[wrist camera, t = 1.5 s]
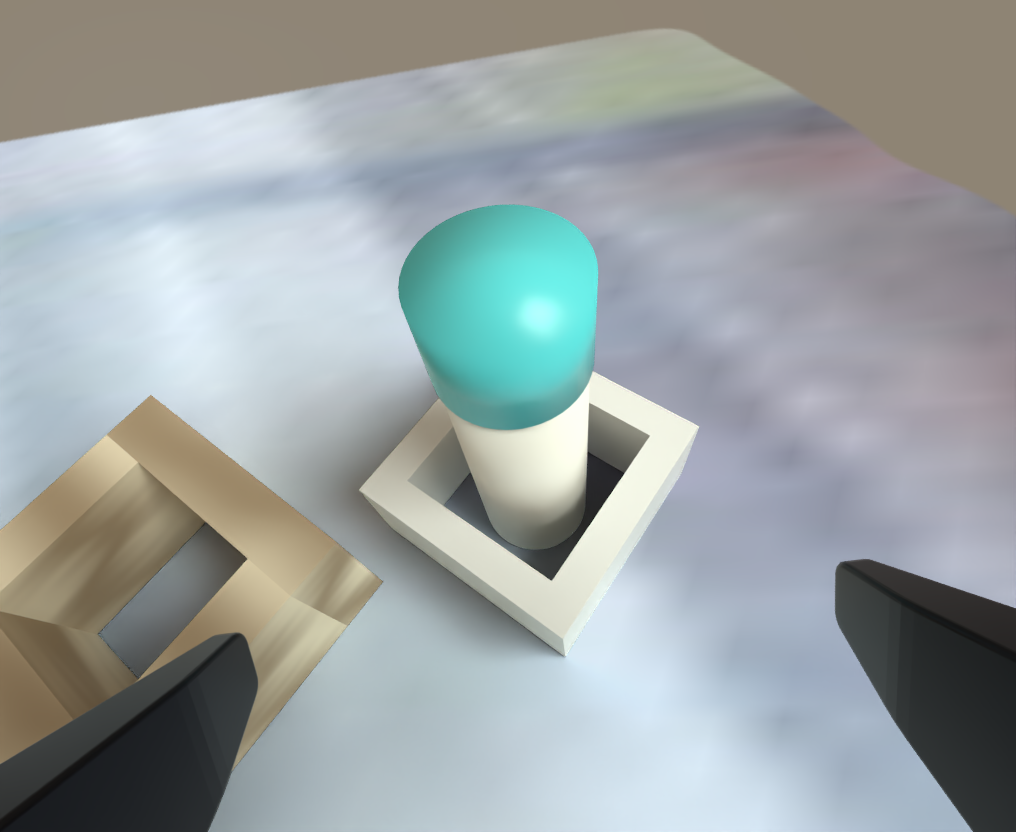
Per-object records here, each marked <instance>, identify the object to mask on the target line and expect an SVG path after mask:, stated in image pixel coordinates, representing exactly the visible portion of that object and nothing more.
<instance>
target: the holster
mask: <svg viewBox="0 0 1016 832" xmlns="http://www.w3.org/2000/svg"><path fill="white" fill-rule="evenodd" d="M698 428H699V426H697V425H695V424H693V423H691V422H689V421H688V420H686V419H684V418H682V417H680V416H678V415H676V414H674V413H672V412H670V411H668V410H666V409H664V408H662V407H661V406H659V405H657V404H655V403H653V402H651V401H649V400H647V399H645V398H643V397H641V396H639V395H637V394H635V393H634V392H632V391H630V390H628V389H626V388H624V387H622V386H620V385H618V384H616V383H614V382H612V381H610V380H608V379H607V378H605V377H603V376H601V375H599V374H597V373H595V372H592V375H591V378H590V384H589V415H588V445H587V452H589V453H591V454H592V455H594V456H596V457H598V458H599V459H601V460H603V461H605V462H606V463H608V464H610V465H611V466H613V467H615V468H617V469H618V470H620V471H622V472H624V473H625V474H624V475H623V477H622V478H621V480H620V481H619V483H618V484H617V485H616V487H615V488H614V490H613V491H612V493H611V494H610V496H609V497H608V499H607V500H606V502H605V503H604V505H603V506H602V508H601V509H600V511H599V512H598V514H597V515H596V517H595V518H594V519H593V521H592V522H591V524H590V525H589V527H588V528H587V530H586V531H585V533H584V534H583V536H582V537H581V539H580V540H579V542H578V543H577V545H576V546H575V548H574V549H573V551H572V552H571V553H570V555H569V556H568V558H567V559H566V561H565V562H564V564H563V565H562V567H561V568H560V570H559V571H558V573H557V574H556V576H555V577H554V579H553V580H552V581H551V580H549V579H548V578H547V577H545V576H544V575H542V574H541V573H539V572H538V571H536V570H535V569H534V568H532V567H531V566H529V565H528V564H526V563H525V562H523V561H522V560H521V559H519V558H518V557H516V556H515V555H513V554H512V553H510V552H509V551H508V550H506V549H505V548H503V547H502V546H500V545H499V544H497V543H496V542H495V541H493V540H492V539H490V538H489V537H487V536H486V535H485V534H483V533H482V532H480V531H479V530H477V529H476V528H474V527H473V526H472V525H470V524H469V523H467V522H466V521H464V520H463V519H461V518H460V517H459V516H457V515H456V514H454V513H453V512H451V511H450V510H448V509H447V508H446V507H444V505H445V503H446V502H447V501H448V500H449V498H450V497H451V496H452V495H453V493H454V492H455V491H456V490H457V488H458V487H459V486H460V485H461V483H462V482H463V481H464V480H465V478H466V477H467V476H468V474H469V473H470V472H471V471H470V469H469V466H468V463H467V461H466V458H465V456H464V453H463V450H462V448H461V445H460V443H459V440H458V438H457V435H456V432H455V430H454V427H453V425H452V422H451V420H450V417H449V414H448V412H447V409H446V407H445V404H444V403H443V402H442V401H441V400H440V398H438V399H437V401H436V402H435V403H434V404H433V405H432V406H431V408H430V409H429V410H428V411H427V412H426V413H425V414H424V416H423V417H422V418H421V419H420V420H419V421H418V422H417V424H416V425H415V426H414V427H413V428H412V429H411V430H410V432H409V433H408V434H407V435H406V436H405V437H404V438H403V440H402V441H401V442H400V443H399V444H398V445H397V447H396V448H395V449H394V450H393V451H392V452H391V453H390V455H389V456H388V457H387V458H386V459H385V460H384V461H383V463H382V464H381V465H380V466H379V467H378V468H377V469H376V471H375V472H374V473H373V474H372V475H371V476H370V477H369V479H368V480H367V481H366V482H365V483H364V484H363V486H362V487H361V488H360V489H359V491H360V492H361V493H362V494H363V495H364V497H365V498H366V499H367V500H368V501H369V502H370V504H371V505H372V506H373V507H374V508H375V509H376V511H377V512H378V513H379V514H380V515H381V516H382V518H383V519H384V520H385V521H386V522H387V523H388V525H389V526H390V527H391V528H392V529H394V530H395V531H396V532H398V533H399V534H400V535H402V536H403V537H404V538H406V539H407V540H408V541H410V542H411V543H412V544H414V545H415V546H416V547H418V548H419V549H420V550H422V551H423V552H424V553H426V554H427V555H429V556H430V557H431V558H433V559H434V560H435V561H437V562H438V563H439V564H441V565H442V566H443V567H445V568H446V569H447V570H449V571H450V572H451V573H453V574H454V575H455V576H457V577H458V578H459V579H461V580H462V581H464V582H465V583H466V584H468V585H469V586H470V587H472V588H473V589H474V590H476V591H477V592H478V593H480V594H481V595H482V596H484V597H485V598H486V599H488V600H489V601H490V602H492V603H493V604H494V605H496V606H497V607H499V608H500V609H501V610H503V611H504V612H505V613H507V614H508V615H509V616H511V617H512V618H513V619H515V620H516V621H517V622H519V623H520V624H521V625H523V626H524V627H525V628H527V629H528V630H529V631H531V632H532V633H533V634H535V635H536V636H538V637H539V638H540V639H542V640H543V641H544V642H546V643H547V644H548V645H550V646H551V647H552V648H554V649H555V650H556V651H558V652H559V653H560V654H562V655H563V656H564V657H566V655H567V654H568V652H569V651H570V649H571V647H572V646H573V644H574V643H575V641H576V640H577V638H578V636H579V635H580V633H581V632H582V630H583V628H584V627H585V625H586V624H587V622H588V621H589V619H590V617H591V616H592V614H593V613H594V611H595V609H596V608H597V606H598V605H599V603H600V602H601V600H602V598H603V597H604V595H605V594H606V592H607V591H608V589H609V587H610V586H611V584H612V583H613V581H614V579H615V578H616V576H617V575H618V573H619V572H620V570H621V568H622V567H623V565H624V564H625V562H626V560H627V559H628V557H629V556H630V554H631V553H632V551H633V549H634V548H635V546H636V545H637V543H638V541H639V540H640V538H641V537H642V535H643V534H644V532H645V530H646V529H647V527H648V526H649V524H650V522H651V521H652V519H653V518H654V516H655V515H656V513H657V511H658V510H659V508H660V507H661V505H662V503H663V502H664V500H665V499H666V497H667V496H668V494H669V492H670V491H671V489H672V488H673V486H674V484H675V483H676V481H677V480H678V478H679V477H680V475H681V473H682V470H683V468H684V465H685V462H686V460H687V457H688V455H689V452H690V449H691V447H692V444H693V441H694V439H695V436H696V434H697V431H698Z"/></svg>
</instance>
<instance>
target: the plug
mask: <svg viewBox="0 0 1016 832" xmlns="http://www.w3.org/2000/svg"><path fill="white" fill-rule="evenodd" d="M597 285H598V265H597V259H596V256H595V253H594V250H593V248H592V246H591V244H590V242H589V241H588V240H587V238H586V237H585V236H584V234H583V233H582V232H581V231H580V230H579V229H578V228H577V227H576V226H574V225H573V224H572V223H570V222H569V221H567V220H566V219H564V218H562V217H560V216H559V215H556V214H554V213H552V212H549V211H546V210H543V209H539V208H535V207H530V206H523V205H494V206H487V207H482V208H477V209H473V210H470V211H466V212H464V213H461V214H459V215H456V216H454V217H452V218H450V219H448V220H446V221H444V222H442V223H441V224H439V225H438V226H436V227H435V228H433V229H432V230H431V231H429V232H428V233H427V234H426V235H425V236H424V237H423V238H422V239H421V240H419V241H418V243H417V244H416V245H415V246H414V248H413V249H412V250H411V252H410V253H409V255H408V256H407V258H406V260H405V262H404V265H403V267H402V270H401V274H400V277H399V286H398V289H399V299H400V303H401V307H402V309H403V312H404V314H405V317H406V319H407V322H408V324H409V327H410V329H411V332H412V334H413V337H414V339H415V342H416V344H417V347H418V349H419V352H420V354H421V357H422V359H423V362H424V364H425V367H426V369H427V372H428V374H429V377H430V379H431V382H432V384H433V387H434V389H435V391H436V393H437V395H438V396H439V398H440V400H441V401H442V402H443V403H444V404H445V407H446V409H447V412H448V414H449V417H450V420H451V422H452V425H453V427H454V430H455V432H456V435H457V438H458V440H459V443H460V445H461V448H462V450H463V453H464V456H465V458H466V461H467V463H468V466H469V469H470V471H471V474H472V476H473V479H474V481H475V484H476V487H477V489H478V492H479V494H480V497H481V499H482V502H483V505H484V507H485V510H486V512H487V515H488V517H489V520H490V522H491V524H492V526H493V528H494V529H495V531H496V532H497V533H498V534H499V535H500V536H501V537H502V538H503V539H504V540H506V541H507V542H509V543H511V544H512V545H514V546H517V547H520V548H524V549H530V550H541V549H547V548H550V547H554V546H556V545H558V544H560V543H562V542H563V541H565V540H566V539H568V538H569V537H570V536H571V535H572V534H573V533H574V532H575V531H576V529H577V528H578V526H579V525H580V523H581V521H582V519H583V516H584V512H585V505H586V476H587V445H588V415H589V384H590V378H591V375H592V372H593V367H594V355H595V331H596V308H597Z"/></svg>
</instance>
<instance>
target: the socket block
mask: <svg viewBox="0 0 1016 832" xmlns="http://www.w3.org/2000/svg"><path fill="white" fill-rule="evenodd" d="M205 522H207V523H208V524H209V525H210V526H211V527H212V528H213V529H215V530H216V531H217V532H218V533H219V534H220V535H221V536H223V537H224V538H225V539H226V540H227V541H228V542H229V543H231V544H232V545H233V546H234V547H235V548H236V549H237V550H238V551H240V552H241V553H242V554H243V555H244V556H245V557H246V558H248V559H247V560H246V561H245V562H244V563H243V565H242V566H241V567H240V568H239V569H238V570H237V571H236V572H235V573H234V574H233V576H232V577H231V578H230V579H229V580H228V581H227V582H226V583H225V584H224V585H223V587H222V588H221V589H220V590H219V591H218V592H217V593H216V594H215V595H214V596H213V598H212V599H211V600H210V601H209V602H208V603H207V604H206V605H205V606H204V607H203V609H202V610H201V611H200V612H199V613H198V614H197V615H196V616H195V617H194V618H193V620H192V621H191V622H190V623H189V624H188V625H187V626H186V627H185V628H184V629H183V631H182V632H181V633H180V634H179V635H178V636H177V637H176V638H175V639H174V640H173V642H172V643H171V644H170V645H169V646H168V647H167V648H166V649H165V650H164V651H163V653H162V654H161V655H160V656H159V657H158V658H157V659H156V660H155V661H154V662H153V664H152V665H151V666H150V667H149V668H148V669H147V670H146V671H145V672H144V673H143V675H142V676H141V677H140V678H139V679H137V678H136V676H135V675H134V674H133V673H132V672H131V671H130V670H129V669H128V668H127V666H126V665H125V664H124V663H123V662H122V661H121V660H120V659H119V657H118V656H117V655H116V654H115V653H114V652H113V651H112V650H111V649H110V647H109V646H108V645H107V644H106V643H105V642H104V641H103V640H102V638H101V637H100V636H99V635H98V633H99V632H100V631H101V630H102V629H103V628H104V627H105V626H106V625H107V624H108V623H109V622H110V621H111V620H112V619H113V618H114V617H115V616H116V615H117V613H118V612H119V611H120V610H121V609H122V608H123V607H124V606H125V605H126V604H127V603H128V602H129V601H130V600H131V599H132V598H133V597H134V596H135V595H136V594H137V593H138V592H139V591H140V590H141V589H142V588H143V587H144V586H145V584H146V583H147V582H148V581H149V580H150V579H151V578H152V577H153V576H154V575H155V574H156V573H157V572H158V571H159V570H160V569H161V568H162V567H163V566H164V565H165V564H166V563H167V562H168V561H169V560H170V559H171V558H172V557H173V555H174V554H175V553H176V552H177V551H178V550H179V549H180V548H181V547H182V546H183V545H184V544H185V543H186V542H187V541H188V540H189V539H190V538H191V537H192V536H193V535H194V534H195V533H196V532H197V531H198V530H199V529H200V528H201V526H202V525H203V524H204V523H205ZM382 582H383V581H382V580H380V579H379V578H378V577H377V576H376V575H375V574H373V573H372V572H371V571H370V570H369V569H367V568H366V567H365V566H364V565H363V564H362V563H360V562H359V561H358V560H357V559H356V558H354V557H353V556H352V555H351V554H350V553H349V552H347V551H346V550H345V549H344V548H343V547H341V546H340V545H339V544H338V543H337V542H336V541H334V540H333V539H332V538H330V537H329V536H328V535H327V534H325V533H324V532H323V531H322V530H320V529H319V528H318V527H317V526H315V525H314V524H313V523H312V522H310V521H309V520H308V519H307V518H305V517H304V516H303V515H301V514H300V513H299V512H298V511H296V510H295V509H294V508H293V507H291V506H290V505H289V504H288V503H286V502H285V501H284V500H283V499H281V498H280V497H279V496H278V495H276V494H275V493H274V492H272V491H271V490H270V489H269V488H267V487H266V486H265V485H264V484H262V483H261V482H260V481H259V480H257V479H256V478H255V477H254V476H252V475H251V474H250V473H249V472H247V471H246V470H245V469H243V468H242V467H241V466H240V465H238V464H237V463H236V462H235V461H233V460H232V459H231V458H230V457H228V456H227V455H226V454H225V453H223V452H222V451H221V450H220V449H218V448H217V447H216V446H214V445H213V444H212V443H211V442H209V441H208V440H207V439H206V438H204V437H203V436H202V435H201V434H199V433H198V432H197V431H196V430H194V429H193V428H192V427H191V426H189V425H188V424H187V423H185V422H184V421H183V420H182V419H180V418H179V417H178V416H177V415H175V414H174V413H173V412H172V411H170V410H169V409H168V408H167V407H165V406H164V405H163V404H162V403H160V402H159V401H158V400H156V399H155V398H154V397H153V396H151V395H150V396H149V397H148V398H147V399H146V400H145V401H144V402H143V403H141V404H140V405H139V406H138V407H137V408H136V409H135V410H134V411H133V412H131V413H130V414H129V415H128V416H127V417H126V418H125V419H124V420H122V421H121V422H120V423H119V424H118V425H117V426H116V427H115V428H114V429H112V430H111V431H110V432H109V433H108V434H107V435H106V436H105V437H104V438H102V439H101V440H100V441H99V442H98V443H97V444H96V445H95V446H94V447H92V448H91V449H90V450H89V451H88V452H87V453H86V454H85V455H84V456H82V457H81V458H80V459H79V460H78V461H77V462H76V463H75V464H74V465H72V466H71V467H70V468H69V469H68V470H67V471H66V472H65V473H64V474H62V475H61V476H60V477H59V478H58V479H57V480H56V481H55V482H54V483H52V484H51V485H50V486H49V487H48V488H47V489H46V490H45V491H43V492H42V493H41V494H40V495H39V496H38V497H37V498H36V499H35V500H33V501H32V502H31V503H30V504H29V505H28V506H27V507H26V508H25V509H23V510H22V511H21V512H20V513H19V514H18V515H17V516H16V517H15V518H13V519H12V520H11V521H10V522H9V523H8V524H7V525H6V526H5V527H3V528H2V529H1V530H0V764H1V763H3V762H4V761H6V760H8V759H9V758H11V757H12V756H14V755H16V754H17V753H19V752H21V751H22V750H24V749H26V748H27V747H29V746H31V745H32V744H34V743H36V742H37V741H39V740H41V739H42V738H44V737H46V736H47V735H49V734H51V733H52V732H54V731H56V730H57V729H59V728H61V727H62V726H64V725H66V724H67V723H69V722H71V721H72V720H74V719H76V718H77V717H79V716H81V715H82V714H84V713H86V712H87V711H89V710H91V709H92V708H94V707H96V706H97V705H99V704H101V703H102V702H104V701H105V700H107V699H109V698H110V697H112V696H114V695H115V694H117V693H119V692H120V691H122V690H124V689H125V688H127V687H129V686H130V685H132V684H134V683H135V682H137V681H139V680H140V679H142V678H144V677H145V676H147V675H149V674H150V673H152V672H154V671H155V670H157V669H159V668H160V667H162V666H164V665H165V664H167V663H169V662H170V661H172V660H174V659H175V658H177V657H179V656H180V655H182V654H184V653H185V652H187V651H189V650H190V649H192V648H194V647H195V646H197V645H198V644H200V643H202V642H203V641H205V640H207V639H208V638H210V637H212V636H214V635H217V634H226V633H234V632H240V633H241V634H243V635H244V636H245V637H246V639H247V642H248V645H249V648H250V652H251V655H252V658H253V662H254V665H255V669H256V672H257V676H258V691H257V695H256V699H255V702H254V705H253V708H252V711H251V714H250V717H249V720H248V723H247V726H246V729H245V732H244V735H243V738H242V741H241V745H240V748H239V751H238V754H237V757H236V760H235V763H234V766H233V769H234V768H235V767H236V766H237V764H238V763H239V762H240V761H241V759H242V758H243V757H244V756H245V754H246V753H247V752H248V751H249V749H250V748H251V747H252V746H253V744H254V743H255V742H256V740H257V739H258V738H259V737H260V735H261V734H262V733H263V732H264V730H265V729H266V728H267V727H268V725H269V724H270V723H271V722H272V720H273V719H274V718H275V717H276V715H277V714H278V713H279V712H280V710H281V709H282V708H283V707H284V705H285V704H286V703H287V702H288V700H289V699H290V698H291V697H292V695H293V694H294V693H295V692H296V690H297V689H298V688H299V687H300V685H301V684H302V683H303V682H304V680H305V679H306V678H307V676H308V675H309V674H310V673H311V671H312V670H313V669H314V668H315V666H316V665H317V664H318V663H319V661H320V660H321V659H322V658H323V656H324V655H325V654H326V653H327V651H328V650H329V649H330V648H331V646H332V645H333V644H334V643H335V641H336V640H337V639H338V638H339V636H340V635H341V634H342V633H343V631H344V630H345V629H346V628H347V626H348V625H349V624H350V623H351V621H352V620H353V619H354V618H355V616H356V615H357V614H358V613H359V611H360V610H361V609H362V607H363V606H364V605H365V604H366V602H367V601H368V600H369V599H370V597H371V596H372V595H373V594H374V592H375V591H376V590H377V589H378V587H379V586H380V585H381V584H382ZM233 769H232V771H233Z"/></svg>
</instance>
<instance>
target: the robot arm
mask: <svg viewBox="0 0 1016 832" xmlns="http://www.w3.org/2000/svg"><path fill="white" fill-rule="evenodd" d="M835 615H836V619H837V623H838V625H839V627H840V629H841V631H842V633H843V635H844V636H845V638H846V640H847V642H848V643H849V645H850V647H851V648H852V650H853V652H854V654H855V655H856V657H857V659H858V661H859V662H860V664H861V666H862V667H863V669H864V671H865V673H866V674H867V676H868V678H869V679H870V681H871V683H872V685H873V686H874V688H875V690H876V692H877V693H878V695H879V697H880V698H881V700H882V702H883V704H884V705H885V707H886V709H887V710H888V712H889V714H890V715H891V717H892V718H893V720H894V722H895V723H896V725H897V726H898V728H899V729H900V731H901V732H902V733H903V735H904V736H905V738H906V739H907V741H908V742H909V743H910V745H911V746H912V748H913V749H914V750H915V752H916V753H917V755H918V756H919V757H920V759H921V760H922V762H923V763H924V764H925V766H926V767H927V769H928V770H929V771H930V773H931V774H932V775H933V777H934V778H935V780H936V781H937V782H938V784H939V785H940V787H941V788H942V789H943V791H944V792H945V794H946V795H947V796H948V798H949V799H950V800H951V802H952V803H953V805H954V806H955V807H956V809H957V810H958V812H959V813H960V814H961V816H962V817H963V819H964V820H965V821H966V823H967V824H968V825H969V827H970V828H971V830H972V831H973V832H1016V608H1013V607H1010V606H1007V605H1004V604H1001V603H998V602H995V601H992V600H989V599H986V598H983V597H980V596H977V595H974V594H971V593H968V592H965V591H962V590H959V589H956V588H953V587H950V586H947V585H944V584H941V583H938V582H935V581H933V580H930V579H927V578H924V577H921V576H918V575H915V574H912V573H909V572H906V571H903V570H900V569H897V568H894V567H891V566H888V565H885V564H882V563H879V562H876V561H873V560H869V559H860V560H852V561H844V562H841V563H840V564H839V565H838V566H837V568H836V573H835ZM257 691H258V676H257V672H256V669H255V665H254V662H253V658H252V655H251V652H250V648H249V645H248V642H247V639H246V637H245V636H244V635H243V634H241V633H240V632H234V633H226V634H217V635H214V636H212V637H210V638H208V639H207V640H205V641H203V642H202V643H200V644H198V645H197V646H195V647H194V648H192V649H190V650H189V651H187V652H185V653H184V654H182V655H180V656H179V657H177V658H175V659H174V660H172V661H170V662H169V663H167V664H165V665H164V666H162V667H160V668H159V669H157V670H155V671H154V672H152V673H150V674H149V675H147V676H145V677H144V678H142V679H140V680H139V681H137V682H135V683H134V684H132V685H130V686H129V687H127V688H125V689H124V690H122V691H120V692H119V693H117V694H115V695H114V696H112V697H110V698H109V699H107V700H105V701H104V702H102V703H101V704H99V705H97V706H96V707H94V708H92V709H91V710H89V711H87V712H86V713H84V714H82V715H81V716H79V717H77V718H76V719H74V720H72V721H71V722H69V723H67V724H66V725H64V726H62V727H61V728H59V729H57V730H56V731H54V732H52V733H51V734H49V735H47V736H46V737H44V738H42V739H41V740H39V741H37V742H36V743H34V744H32V745H31V746H29V747H27V748H26V749H24V750H22V751H21V752H19V753H17V754H16V755H14V756H12V757H11V758H9V759H8V760H6V761H4V762H3V763H1V764H0V832H208V830H209V828H210V826H211V823H212V821H213V819H214V816H215V814H216V812H217V809H218V807H219V804H220V802H221V799H222V797H223V795H224V792H225V789H226V786H227V784H228V781H229V778H230V775H231V772H232V769H233V766H234V763H235V760H236V757H237V754H238V751H239V748H240V745H241V741H242V738H243V735H244V732H245V729H246V726H247V723H248V720H249V717H250V714H251V711H252V708H253V705H254V702H255V699H256V695H257Z"/></svg>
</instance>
